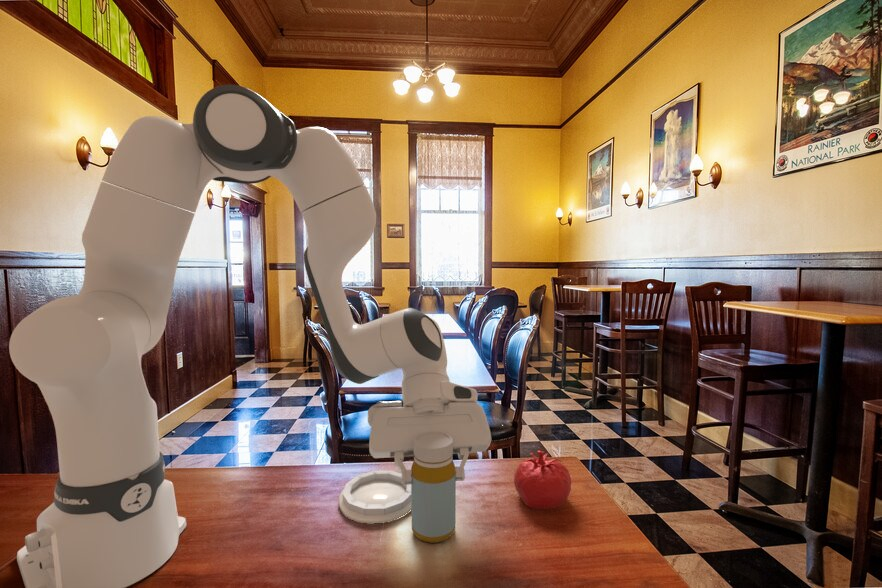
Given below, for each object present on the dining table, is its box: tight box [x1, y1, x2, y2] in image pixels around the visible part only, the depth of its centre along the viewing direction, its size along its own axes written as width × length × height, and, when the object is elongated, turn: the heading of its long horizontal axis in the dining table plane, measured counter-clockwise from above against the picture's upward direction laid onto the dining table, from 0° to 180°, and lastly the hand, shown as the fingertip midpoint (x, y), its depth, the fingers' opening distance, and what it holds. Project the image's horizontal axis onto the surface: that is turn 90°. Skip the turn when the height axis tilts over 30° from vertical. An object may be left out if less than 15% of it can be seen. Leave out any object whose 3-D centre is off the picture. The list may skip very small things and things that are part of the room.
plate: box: [338, 469, 411, 525], centre depth 76 cm, size 14×14×2 cm
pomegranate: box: [513, 450, 572, 510], centre depth 76 cm, size 10×10×9 cm
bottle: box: [410, 432, 457, 544], centre depth 66 cm, size 7×7×15 cm
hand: (433, 481), depth 66 cm, fingers closed on bottle, 7 cm apart
